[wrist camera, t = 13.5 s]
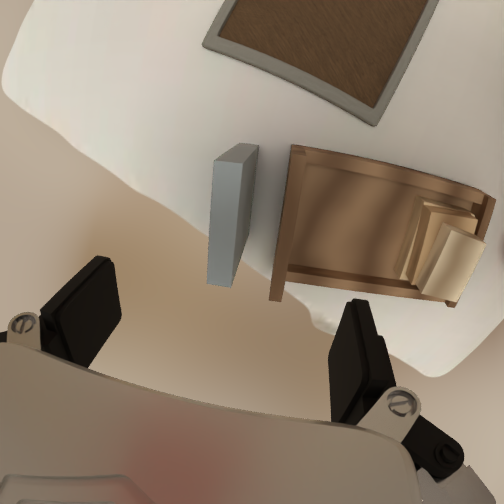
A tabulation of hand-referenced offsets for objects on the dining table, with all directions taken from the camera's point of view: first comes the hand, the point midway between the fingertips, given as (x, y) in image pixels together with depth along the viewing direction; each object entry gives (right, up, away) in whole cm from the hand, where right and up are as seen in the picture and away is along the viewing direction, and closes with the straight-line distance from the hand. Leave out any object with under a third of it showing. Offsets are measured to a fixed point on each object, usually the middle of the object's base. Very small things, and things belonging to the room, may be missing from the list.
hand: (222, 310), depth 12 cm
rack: (+16, +5, +21) cm, 26 cm away
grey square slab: (0, +9, +21) cm, 23 cm away
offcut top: (+21, +1, +15) cm, 26 cm away
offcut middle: (+21, +3, +17) cm, 27 cm away
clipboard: (+11, +31, +9) cm, 34 cm away
